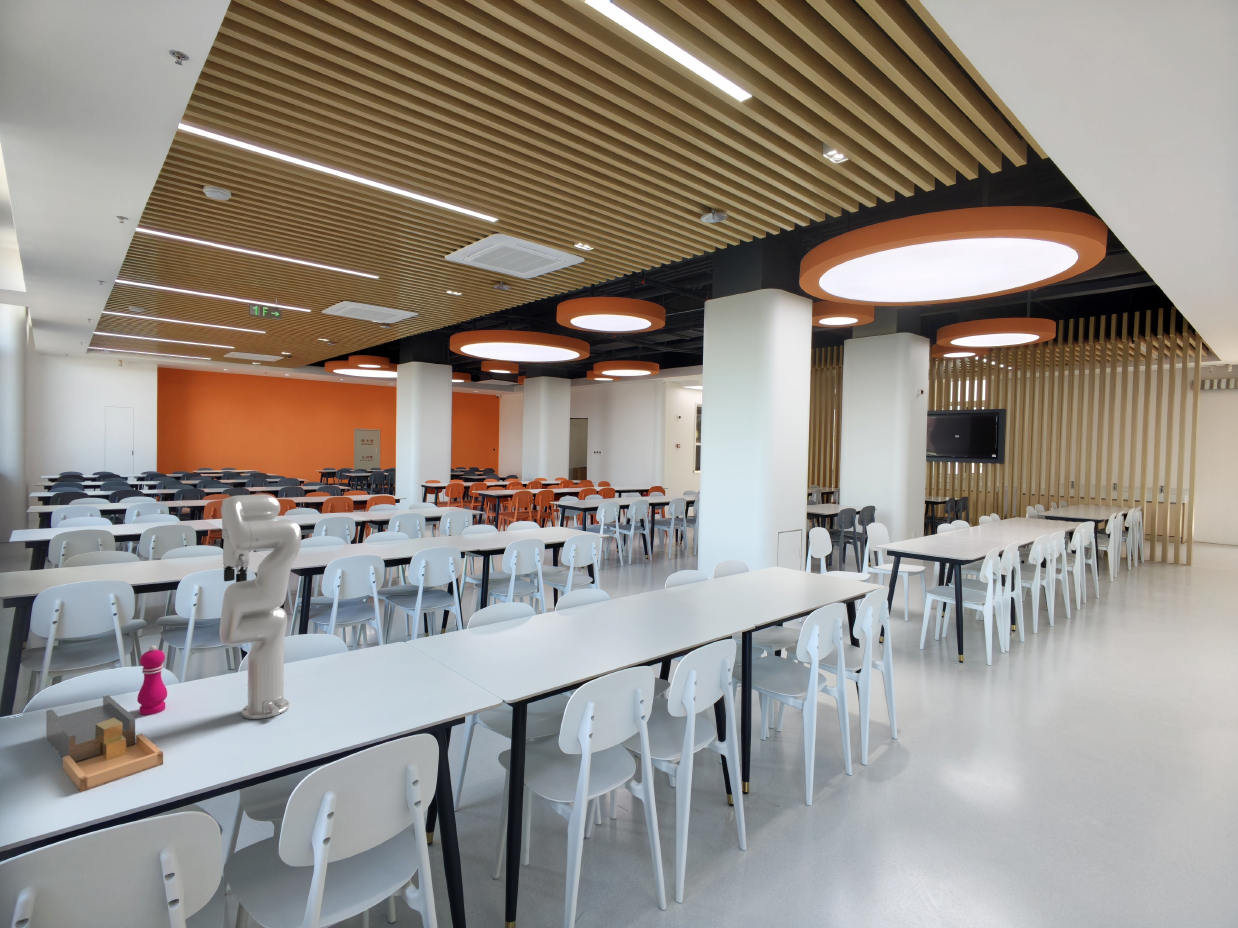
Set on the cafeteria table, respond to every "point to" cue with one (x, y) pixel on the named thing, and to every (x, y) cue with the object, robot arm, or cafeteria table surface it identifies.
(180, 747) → the cafeteria table surface
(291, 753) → the cafeteria table surface
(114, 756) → the yellow wooden cube
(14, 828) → the cafeteria table surface
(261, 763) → the cafeteria table surface
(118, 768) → the tray
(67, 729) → the channel bed
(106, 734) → the yellow tan cube
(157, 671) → the pepper mill
